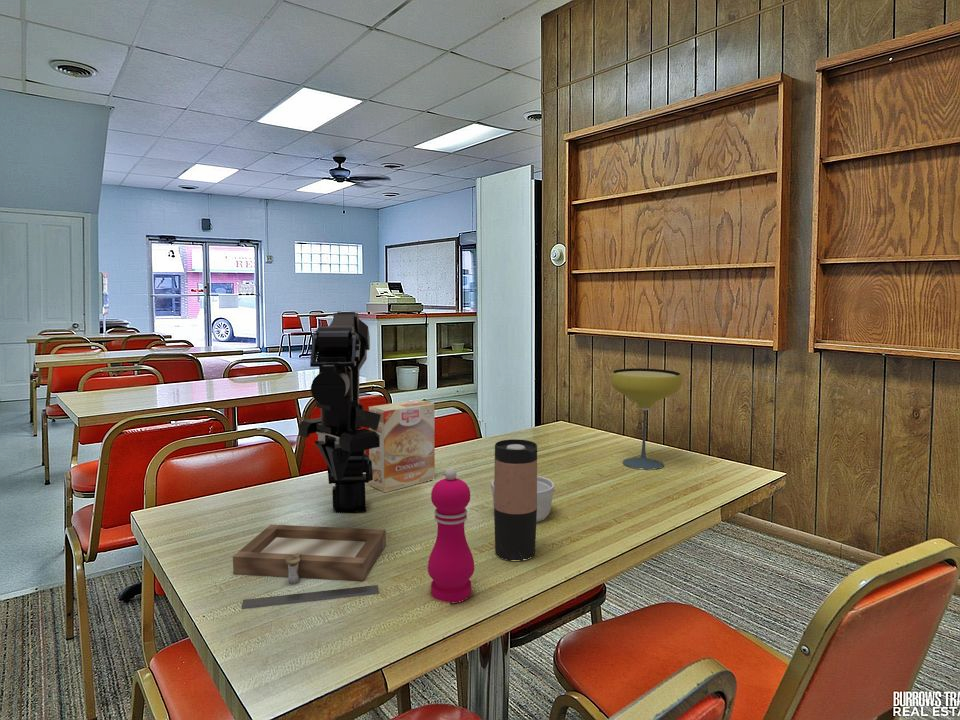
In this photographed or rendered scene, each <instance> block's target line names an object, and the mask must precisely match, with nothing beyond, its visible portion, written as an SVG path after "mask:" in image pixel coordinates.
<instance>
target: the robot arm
mask: <svg viewBox="0 0 960 720" xmlns="http://www.w3.org/2000/svg"><path fill="white" fill-rule="evenodd" d="M330 322H331V323H330V324H329V325H325V326H323V325H321V326H319V327H317V328H316V332H315V333H312V338H311V339H312V340H311V341H312V342H311V352H310V360H309V361H310V363H309V367H310V368H318V369H319V370H318V374H317V375H316V376H315V377H314V379H313V380H312V383H311V386H310V391H311V392H310V393H311V395H312V398H313V399H314V400H315V401H316V402H315V407H316V408H319V409H320V417H317V418H310V419H304V420H301V422H300V423H299V424H298V426H297V427H298V437H299V436H300V437H303V438H309V437H310V435H311V434H316V435H317V440H315V441H314V445H315V446H316V448H317V449H318V450H319V452H320V454H321V456H322V457H323V459H324V461H325V463H326V466H327V467H326V468H327V477H328V478H327V479H328V485H332V484H334V485H333V486H332V488H331V489H332V491H331V492H332V509H334V512H335V514H352V513H353V514H354V513H362V512H367V510H368V509H367V503H366V502H367V501H366V484H370V481H371V480H373V469H372V461H371V460H370V458H369V454H367V450H369V449H372V448H377V447H379V446H380V435H378V434H377V433H376V432H375V431H372V430H369V428H372V429H373V430H376V431H377V429H378V425H379V421H380V418H381V414H377V413H373V412H369V410H366V409H364V406H363V404H360V371H361V369H362V367H363V365H364V364H365V362H366V361H367V359H368V357H367V355H368V351H370V349H371V342H370V341H371V339H370V330H369V325H367V324H366V323H365V322H363V321H362V319H360V316H359V313H357V312H356V311H337V312H335V313H333V317H332V321H330Z"/></svg>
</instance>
